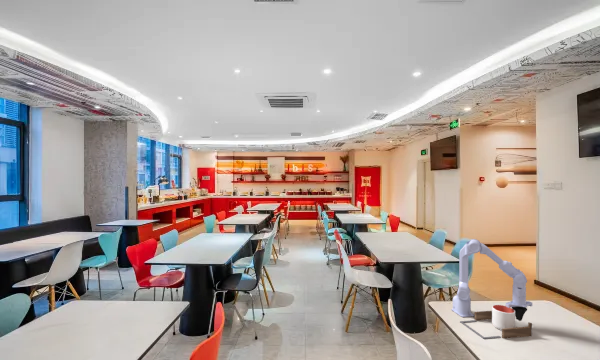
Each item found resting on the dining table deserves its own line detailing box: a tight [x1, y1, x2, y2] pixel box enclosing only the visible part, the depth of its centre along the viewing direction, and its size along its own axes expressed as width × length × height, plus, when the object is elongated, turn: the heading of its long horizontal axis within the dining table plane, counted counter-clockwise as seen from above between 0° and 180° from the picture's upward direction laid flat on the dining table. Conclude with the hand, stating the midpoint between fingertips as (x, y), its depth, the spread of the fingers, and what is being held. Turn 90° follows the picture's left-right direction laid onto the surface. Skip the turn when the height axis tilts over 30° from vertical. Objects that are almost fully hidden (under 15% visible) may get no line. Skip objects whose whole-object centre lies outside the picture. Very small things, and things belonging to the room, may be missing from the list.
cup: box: [491, 304, 516, 331], centre depth 152 cm, size 10×10×10 cm
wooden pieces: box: [474, 310, 533, 340], centre depth 152 cm, size 19×16×6 cm
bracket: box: [459, 319, 502, 340], centre depth 150 cm, size 17×10×1 cm, turn 9°
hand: (518, 319), depth 153 cm, fingers closed
